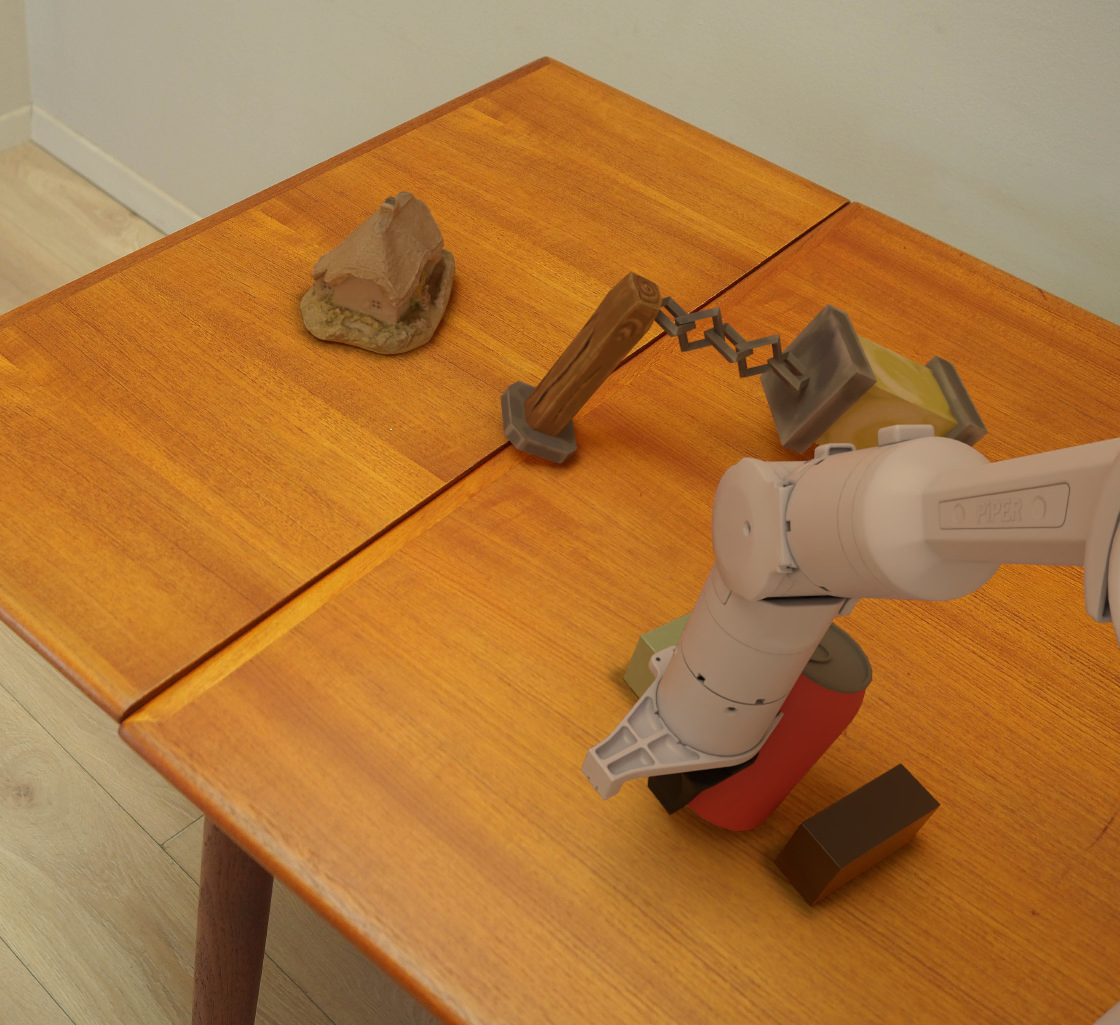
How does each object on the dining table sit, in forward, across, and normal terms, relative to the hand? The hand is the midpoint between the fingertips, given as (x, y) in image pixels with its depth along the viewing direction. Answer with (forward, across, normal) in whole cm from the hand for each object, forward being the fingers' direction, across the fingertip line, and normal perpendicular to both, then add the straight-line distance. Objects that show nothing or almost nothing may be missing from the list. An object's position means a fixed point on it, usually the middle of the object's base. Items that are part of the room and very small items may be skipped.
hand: (663, 797), depth 66 cm
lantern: (+2, -24, -22) cm, 32 cm away
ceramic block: (+2, -8, -7) cm, 11 cm away
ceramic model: (+2, -9, -48) cm, 49 cm away
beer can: (+1, -3, +1) cm, 4 cm away
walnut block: (+2, -8, +7) cm, 11 cm away
